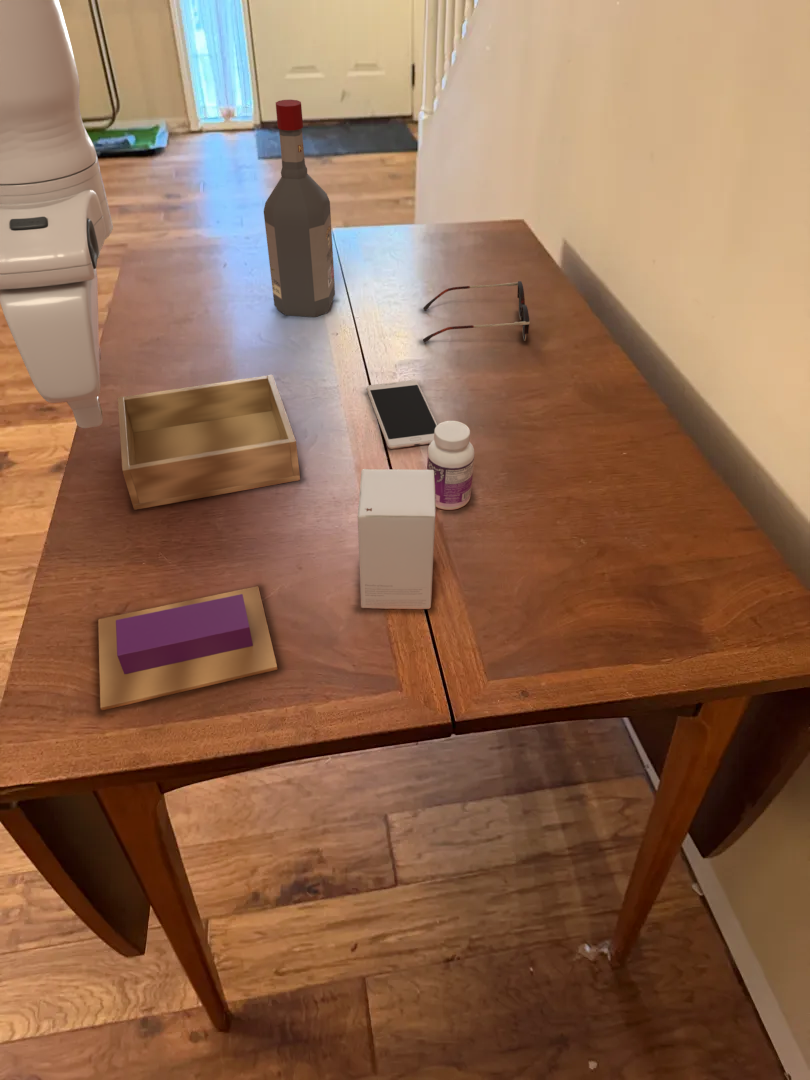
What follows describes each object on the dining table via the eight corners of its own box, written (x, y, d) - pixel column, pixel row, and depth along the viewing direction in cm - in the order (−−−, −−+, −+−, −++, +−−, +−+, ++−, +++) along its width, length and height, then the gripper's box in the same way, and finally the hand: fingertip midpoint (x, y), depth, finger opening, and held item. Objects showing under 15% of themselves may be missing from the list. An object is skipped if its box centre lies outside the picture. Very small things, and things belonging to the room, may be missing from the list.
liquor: (337, 293, 132) (326, 95, 111) (327, 319, 125) (314, 113, 105) (284, 291, 132) (264, 93, 112) (272, 315, 126) (248, 110, 105)
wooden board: (101, 710, 70) (100, 707, 70) (99, 622, 78) (97, 619, 77) (277, 669, 73) (277, 666, 73) (258, 589, 81) (258, 585, 81)
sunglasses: (528, 349, 119) (530, 318, 115) (423, 353, 119) (421, 323, 116) (520, 307, 129) (521, 278, 125) (423, 311, 129) (422, 282, 126)
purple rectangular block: (124, 674, 72) (116, 655, 70) (122, 638, 75) (115, 619, 74) (253, 646, 75) (249, 627, 73) (246, 612, 78) (242, 593, 76)
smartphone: (388, 446, 98) (365, 385, 109) (388, 450, 99) (365, 389, 110) (445, 439, 100) (417, 378, 110) (445, 443, 100) (417, 382, 111)
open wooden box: (134, 510, 90) (122, 470, 86) (128, 435, 101) (117, 397, 97) (300, 480, 95) (296, 441, 91) (277, 411, 105) (272, 374, 102)
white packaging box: (431, 611, 79) (436, 517, 70) (359, 609, 79) (354, 516, 71) (431, 560, 84) (435, 467, 76) (363, 559, 85) (360, 466, 76)
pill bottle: (419, 488, 94) (420, 421, 87) (459, 479, 95) (464, 412, 88) (436, 516, 90) (439, 448, 83) (477, 506, 91) (484, 438, 85)
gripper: (-1, 162, 58) (52, 332, 67) (-29, 276, 44) (43, 471, 53) (88, 157, 59) (127, 323, 69) (88, 265, 45) (138, 457, 55)
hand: (91, 389), depth 61 cm, fingers open, 8 cm apart
